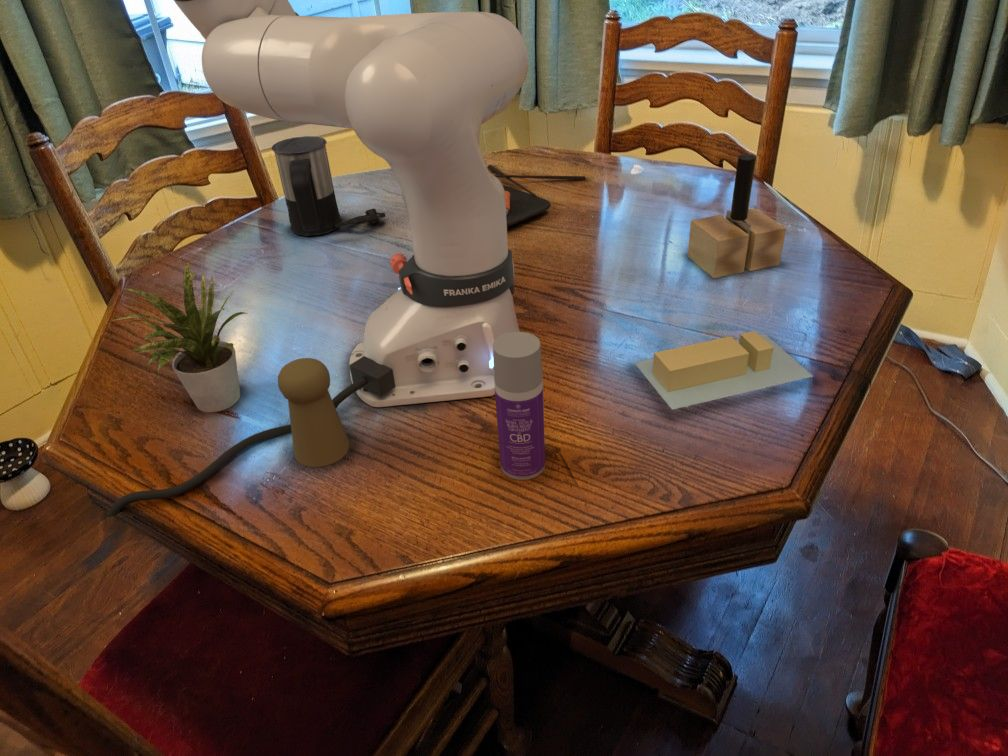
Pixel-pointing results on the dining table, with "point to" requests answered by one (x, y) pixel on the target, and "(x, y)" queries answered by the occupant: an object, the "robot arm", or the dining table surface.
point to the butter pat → (756, 351)
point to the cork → (312, 413)
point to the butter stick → (700, 363)
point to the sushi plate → (525, 198)
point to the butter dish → (730, 380)
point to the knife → (742, 192)
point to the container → (519, 404)
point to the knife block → (735, 244)
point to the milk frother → (311, 187)
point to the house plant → (195, 347)
